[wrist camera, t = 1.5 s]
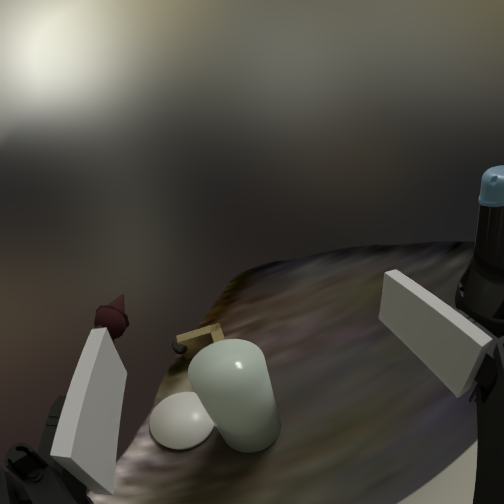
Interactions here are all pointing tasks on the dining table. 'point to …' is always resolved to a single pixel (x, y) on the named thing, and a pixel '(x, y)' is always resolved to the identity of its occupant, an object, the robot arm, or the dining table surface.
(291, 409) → the dining table surface
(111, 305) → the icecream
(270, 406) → the tall sage cylinder
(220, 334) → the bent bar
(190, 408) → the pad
